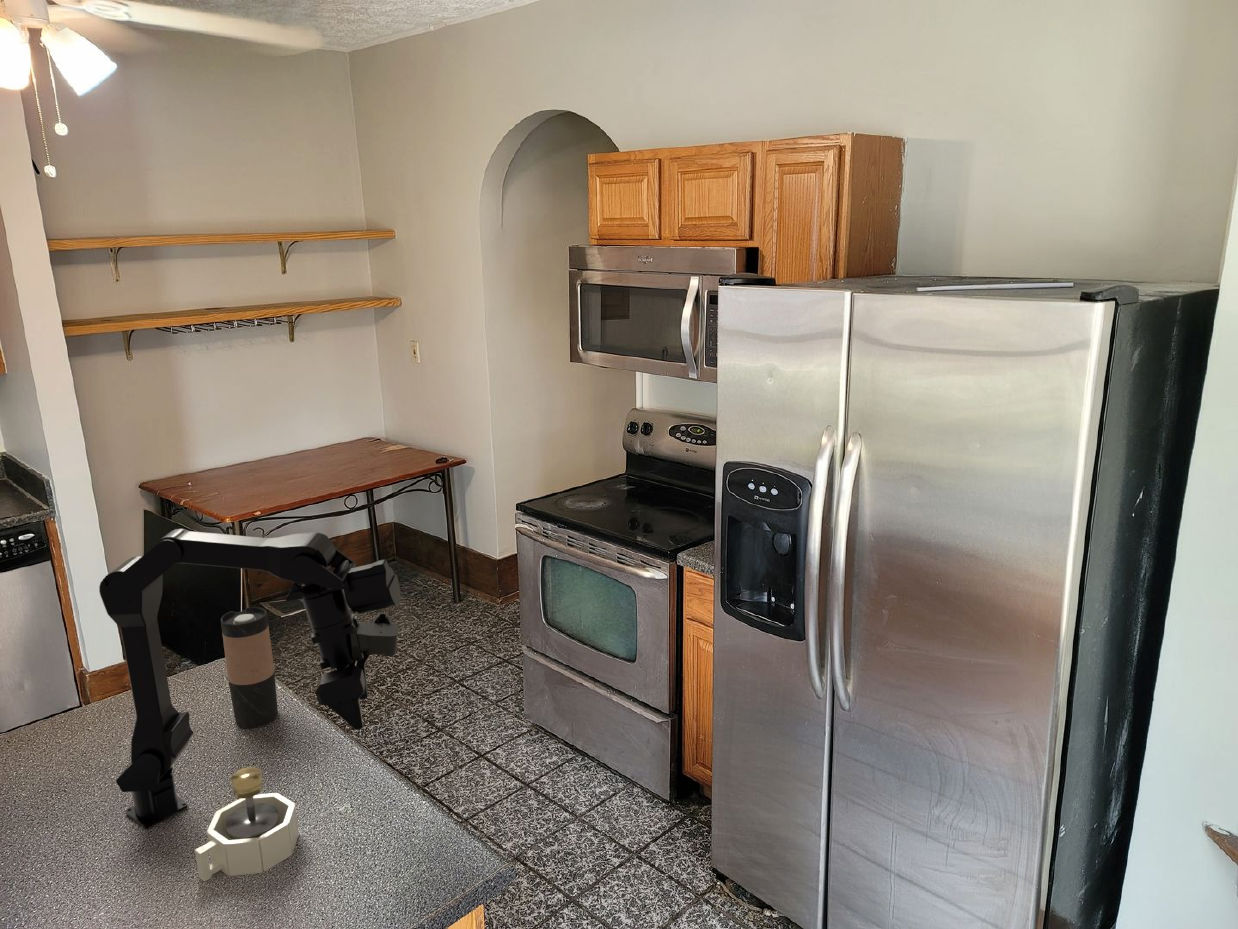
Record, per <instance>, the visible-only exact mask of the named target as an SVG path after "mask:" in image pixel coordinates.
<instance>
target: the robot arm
mask: <svg viewBox="0 0 1238 929" xmlns="http://www.w3.org/2000/svg"><path fill="white" fill-rule="evenodd" d="M356 563H357V562H356V561H354V560H353V559H351V558H350V557H349V556H347V554H345V553H343V552H342V551H341V550H339V549H338V548H336V547H335V545H334V542H333V541H332V540H331V539H330V538H329V536H328V535H326V534H324V533H320V532H302V533H301V532H300V533H292V534H291V533H290V534H287V535H282V536H278V537H269V538H268V537H257V536H247V535H236V534H235V535H234V534H227V533H226V534H225V533H216V532H203V531H192V530H191V531H190V530H188V529H185V528H175V529H173V530H170V532H168V533H167V534H166V535H165V536H163V537H162V538H160V539H159V540H158V541H157V542H156V544H155V546H154V547H152V548H151V549H149V551H147V552H146V553H145V554H143V555H142V556H140V555H137V556H132V557H129V558H128V559H126V560H125V561H123V563H121V564H120V565H119V566H117V567H115V568H114V569H113V570H112V571H111V572H109V573H108V574H106V575H105V576H104V578H103V579H102V580H101V581H100V582H99V585H98V586H99V587H98V588H99V590H98V591H99V596H100V598H101V600H102V604H103V606H104V609H105V612H106V614H107V615H108V616H109V618H111V620H112V621H114V623H115V624H116V625H117V626H118V627H119V629H120V634H121V639H122V645H123V650H124V656H125V662H126V667H127V671H128V672H127V673H128V677H129V682H130V689H131V693H132V699H133V700H132V701H133V705H134V711H135V715H136V716H135V724H134V728H133V732H132V736H131V739H130V740H131V741H130V763H129V764H128V765H127V766H126V767H125V769H124V770H123V771H122V772H121V773H120V774H119V776H118V777H117V779H116V780H115V782H116V784H117V786H118V787H119V789H120V791H121V792H122V793H130V792H131V795H132V796H131V797H132V801H133V802H132V803H133V805H132V806H130V807H129V808H127V809H126V810H125V814H126V815H127V816H128V817H130V818H131V819H132V820H133V821H135V822H136V823H138V825H140V826H142V827H143V828H144V829H149V828H151V827H153V826H155V825H157V824H159V823H160V822H162V821H164V820H166V819H169V818H170V817H172V816H174V815H176V814H178V813H180V812H181V811H183V810H185V809H187V808H188V807H189V805H188V802H187V801H185V800H184V799H181V798H180V797H179V796H178V795H177V790H176V783H175V777H174V772H173V771H174V770H173V766H174V764H175V763H176V762H177V760H179V757H180V756H181V755H182V753H183V752H184V750H186V748H187V746H188V745H189V742H190V739H191V738H192V736H193V735H194V731H193V730H192V728H191V725H190V713H189V711H184V712H183V711H182V712H179V711H178V710H177V709H176V707H174V706H173V703H172V698H171V692H170V687H169V680H168V677H167V676H168V675H167V670H166V665H165V657H164V656H165V655H164V650H163V644H162V640H161V634H160V629H159V622H158V615H159V611H160V610H159V609H160V607H161V606H160V605H161V601H162V597H163V584H164V583H163V580H164V578H163V577H164V574H165V572H167V571H168V570H170V569H171V568H172V567H173V566H174V565H175V564H184V565H185V564H186V565H196V566H197V565H198V566H209V567H220V568H231V569H242V570H253V571H261V572H265V573H269V574H270V575H273V576H274V577H276V578H278V579H281V580H283V581H287V582H292V583H291V584H292V585H291V588H290V590H289V592H288V594H287V595H286V597H285V598H284V599H285V601H286V602H288V603H289V602H293V601H297V600H302V604H303V607H304V610H305V613H306V615H307V616H306V617H307V618H308V622H309V625H310V627H311V630H312V634H311V636H310V637H311V641H312V642H311V643H312V644H314V645H315V644H316V645H317V649H318V652H319V654H320V657H321V658H320V661H319V666H320V668H321V670H325V669H329V668H330V669H333V670H332V671H328V672H325V673H322V674H321V676H320V678H319V680H318V682H317V684H316V688H315V692H314V693H315V696H316V699H317V702H318V705H320V706H324V707H328V708H329V709H331V710H332V711H334V713H336V714H337V715H338V716H339V717H340V718H342V719H343V720H344V721H345V722H346V723H347V724H348V725H349V726H350V727H352V728H353V729H354V730H355V731H358V730H361V729H363V727H364V723H363V722H364V721H363V714H362V706H361V701H363V700H366V699H368V683H367V673H366V672H367V671H366V663H367V660H368V659H369V657H370V656H371V655H380V656H381V655H382V656H385V657H394V656H395V655H397V647H398V645H397V644H398V635H399V625H398V624H396V623H397V622H395V621H392V619H391V617H390V614H389V612H380V611H379V610H382V609H388V608H392V607H396V606H399V605H400V603H401V587H400V583H399V578H398V575H397V574H395V572H394V570H393V568H392V567H390V566H389V564H388V560H387V559H380V560H377V561H374V562H372V563H369V564H365V565H361V566H360V565H359V566H356ZM330 567H331V568H333V571H331V570H330ZM350 609H351V610H350ZM351 611H352V613H353V614H352V613H351ZM374 611H379V612H377V614H376V616H375V617H374V618H373V620H368V621H367V622H365V623H360V620H359V618H358V616H357V615H355V613H358V614H365V613H368V612H374Z"/></svg>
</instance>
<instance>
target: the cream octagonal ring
mask: <svg viewBox="0 0 1238 929" xmlns="http://www.w3.org/2000/svg"><path fill="white" fill-rule="evenodd" d="M253 799H254V804H258V803H266V804H271V805H273V806H275V807H276V808H277V809H278V812H279V822H278V824H277V825H276V826H275V828H273V829H272V830H270V831H268V832H267V833H265V834H263V835H261V836H260V837H257V838H248V839H238V840H236V839H232V838H230V837H229V836H228V835H227V833H226V829H225V823H226V820H227V819H228V817H229V816H230V815H231V814H233V813H234V812H235V811H237V810H239V809H241V808H243V807H245V806H246V799H245V798H244V799H241V798H238V799H237V800H235V801H233V802H230V803H229V804H227V805H226V806H224V807H222V808H220V809H218V810H217V811H216V812H215V813H214V815H213V817H212V819H211V822H210V824H209V826H208V828H207V830H206V833H207V840H208V841H207V843H205V844H203V845H201V846H199V847H197V848H195V849H194V852H195V853H194V854H195V860H196V867H197V871H198V878H199V880H202V881H203V882H206V881H209V880H210V879H211V878H213V875H215V874H217V873H218V872H223V873H224V874H225V875H226V876H228V877H235V876H243V875H254V874H262V873H265V872H267V871H268V870H270V869H272V868H274V867H275V866H277V865H278V864H279V863H281V862H283V861H284V860H286V859H287V858H289V857H291V856H292V855H293V853H294V851H295V849H296V848H295V847H296V844H297V840H298V838H299V835H300V834H299V826H298V819H297V811H296V804H295V803H294V802H293V801H292V800H290V799H288V798H287V797H285V796H283V795H282V794H280V793H277V792H273V793H261V794H260V793H259V794H257V795H255V796H253ZM209 855H210V858H209ZM210 861H211V863H210Z"/></svg>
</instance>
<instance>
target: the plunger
mask: <svg viewBox="0 0 1238 929" xmlns="http://www.w3.org/2000/svg"><path fill="white" fill-rule="evenodd" d="M230 777H231V778H230V779H231V786H232V792H233V797H235V798H237V799H240V798H241V799H244V798H245V799H246V806H245V807H243V808H241V809H239V810H237V811H235V812H234V813H233V814H231V815H230V816H229V817H228V819H227V820H226V823H225V829H226V833H227V835H228V836H229V837H230V838H232V840H238V839H248V838H257V837H260V836H261V835H263V834H265V833H267V832H268V831H270V830H272V829H273V828H275V827H277V826H276V825H277V824H278V822H279V812H278V809H277V808H276V807H275V806H273V805H271V804H266V803H258V804H254V799H253V796H255V795H259V794H260V793H261V792H262V790H263V789H264V785H263V779H262V778H263V776H262V771H261V769H260V768H259V767H256V766H247V767H244V768H241V769H239V770H236V771H235V772H234V773H233V774H232V775H231V776H230Z"/></svg>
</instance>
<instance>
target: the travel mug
mask: <svg viewBox="0 0 1238 929" xmlns="http://www.w3.org/2000/svg"><path fill="white" fill-rule="evenodd" d="M220 624H221V634H222V639H223V648H224V657H225V666H226V673H227V675H226V676H227V682H228V686H229V687H228V688H229V692H230V698H231V704H232V710H233V715H234V721H235V724H236V725H237V726H238V728H242V729H257V728H261V727H265V726H268V725H270V724H271V723H272V722H275V720H276V719H277V718H278V714H279V711H278V708H279V707H278V697H277V686H276V673H275V672H276V671H275V666H274V665H275V664H274V658H273V649H272V644H271V643H272V642H271V635H270V634H271V633H270V629H269V627H270V626H269V621H268V613H267V610H265V609H264V608H262V607H255V606H251V607H250V606H249V607H245V609H244V610H241V611H234V610H231V611H228V612H226V613H225V614H224V615H222V617H221V618H220Z"/></svg>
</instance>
